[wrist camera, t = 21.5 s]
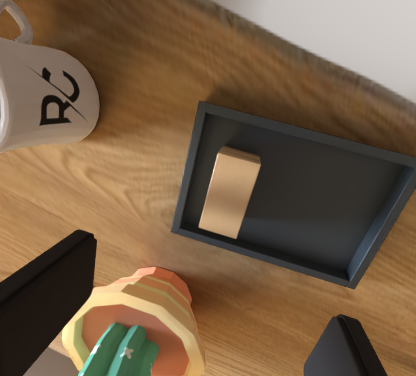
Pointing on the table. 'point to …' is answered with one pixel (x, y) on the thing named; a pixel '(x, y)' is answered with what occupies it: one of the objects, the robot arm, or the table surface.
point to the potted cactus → (137, 329)
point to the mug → (42, 92)
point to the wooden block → (229, 191)
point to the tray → (298, 194)
